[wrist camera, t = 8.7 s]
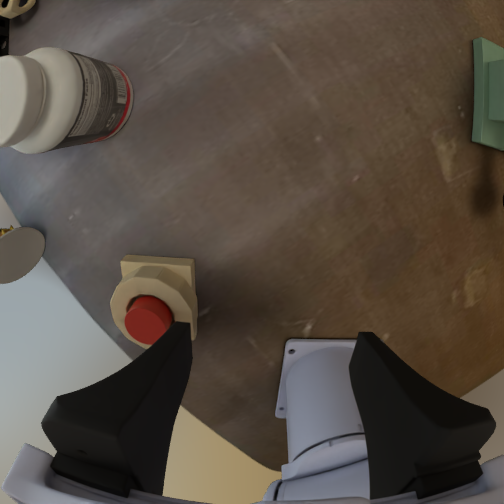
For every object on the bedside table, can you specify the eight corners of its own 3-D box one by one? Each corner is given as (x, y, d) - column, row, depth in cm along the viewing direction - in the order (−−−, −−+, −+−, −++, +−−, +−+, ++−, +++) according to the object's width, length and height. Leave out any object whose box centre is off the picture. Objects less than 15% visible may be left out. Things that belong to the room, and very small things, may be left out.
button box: (202, 331, 23) (195, 356, 20) (132, 323, 23) (119, 346, 21) (199, 258, 21) (190, 279, 18) (122, 253, 21) (104, 272, 18)
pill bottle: (60, 134, 18) (-45, 154, 9) (79, 61, 16) (-23, 41, 7) (123, 149, 18) (25, 176, 9) (146, 70, 16) (56, 35, 7)
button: (173, 333, 20) (168, 347, 19) (135, 328, 20) (128, 342, 19) (170, 297, 19) (163, 310, 18) (129, 293, 19) (120, 306, 18)
